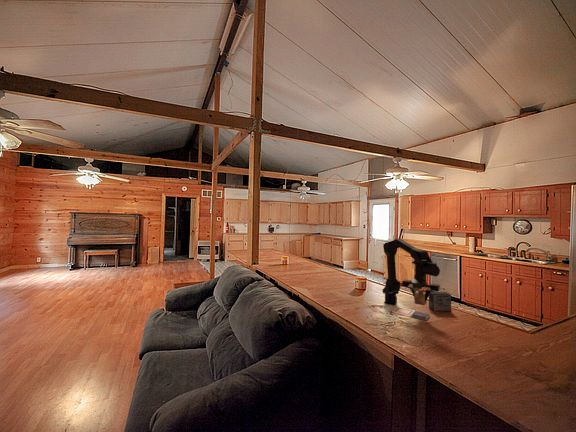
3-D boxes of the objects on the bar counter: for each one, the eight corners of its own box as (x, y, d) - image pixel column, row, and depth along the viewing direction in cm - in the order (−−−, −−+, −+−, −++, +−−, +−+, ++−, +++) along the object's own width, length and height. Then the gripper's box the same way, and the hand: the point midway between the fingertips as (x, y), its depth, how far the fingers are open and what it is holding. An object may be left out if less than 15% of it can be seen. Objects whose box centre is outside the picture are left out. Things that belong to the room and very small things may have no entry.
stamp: (414, 303, 145) (414, 290, 145) (416, 301, 148) (416, 288, 149) (424, 305, 141) (424, 291, 142) (426, 303, 145) (426, 289, 145)
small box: (446, 308, 159) (446, 291, 159) (451, 312, 152) (451, 294, 153) (428, 307, 160) (428, 290, 160) (433, 311, 154) (433, 293, 154)
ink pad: (410, 316, 145) (410, 314, 145) (414, 313, 151) (414, 310, 151) (426, 320, 139) (426, 317, 139) (429, 316, 145) (429, 313, 145)
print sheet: (391, 312, 151) (391, 311, 151) (398, 307, 161) (398, 306, 161) (409, 316, 145) (409, 315, 145) (415, 311, 154) (415, 310, 154)
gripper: (398, 272, 145) (398, 300, 145) (436, 277, 133) (436, 307, 133) (404, 269, 154) (404, 296, 153) (440, 274, 142) (440, 302, 141)
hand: (420, 300), depth 145 cm, fingers closed on stamp, 5 cm apart
